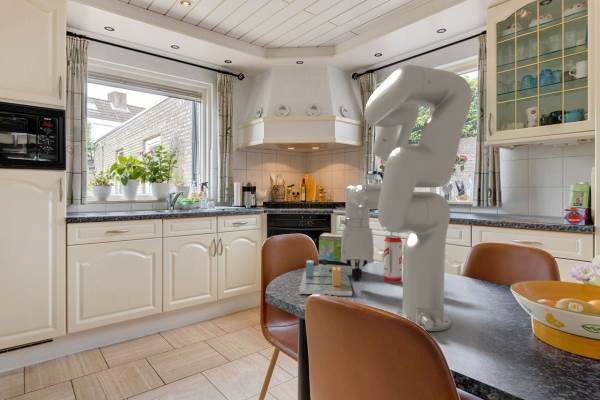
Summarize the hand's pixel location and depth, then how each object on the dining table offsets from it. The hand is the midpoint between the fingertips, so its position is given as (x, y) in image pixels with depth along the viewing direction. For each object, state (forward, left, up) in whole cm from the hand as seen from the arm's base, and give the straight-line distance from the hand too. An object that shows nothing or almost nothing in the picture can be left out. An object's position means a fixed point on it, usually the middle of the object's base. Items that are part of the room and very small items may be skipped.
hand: (356, 280), depth 111 cm
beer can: (+11, -14, -3) cm, 18 cm away
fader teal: (+10, +15, -1) cm, 18 cm away
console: (+5, +10, -3) cm, 11 cm away
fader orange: (0, +6, -1) cm, 7 cm away
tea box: (+24, +4, -3) cm, 25 cm away
